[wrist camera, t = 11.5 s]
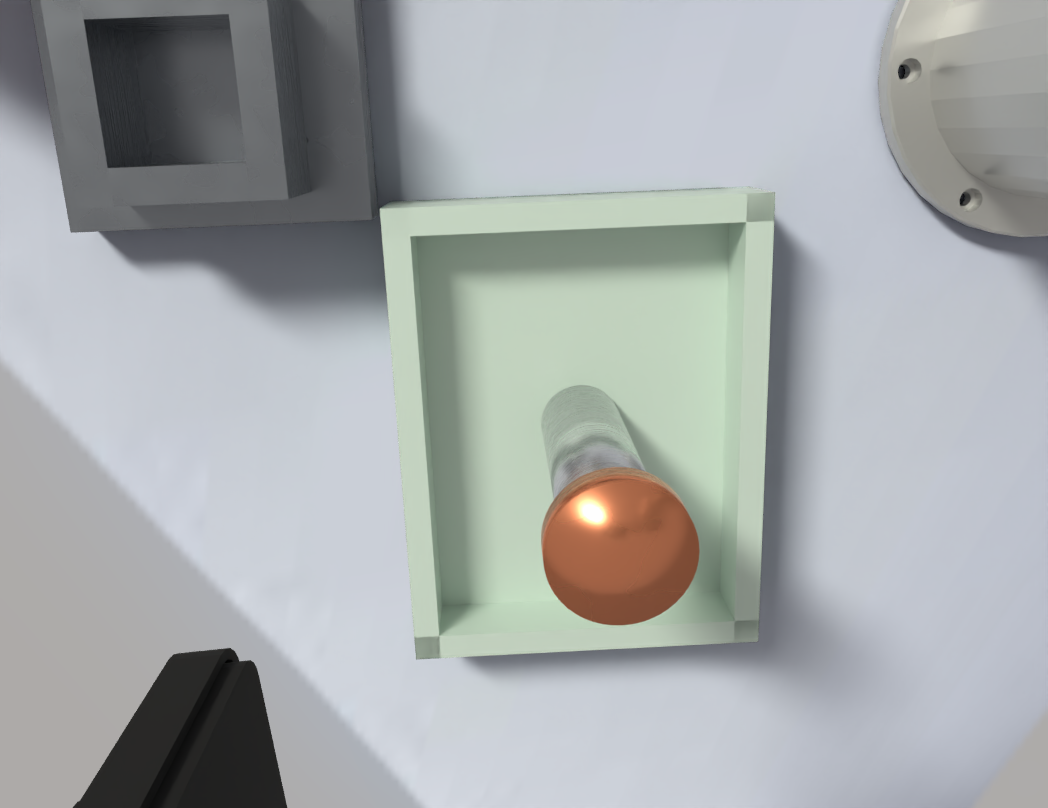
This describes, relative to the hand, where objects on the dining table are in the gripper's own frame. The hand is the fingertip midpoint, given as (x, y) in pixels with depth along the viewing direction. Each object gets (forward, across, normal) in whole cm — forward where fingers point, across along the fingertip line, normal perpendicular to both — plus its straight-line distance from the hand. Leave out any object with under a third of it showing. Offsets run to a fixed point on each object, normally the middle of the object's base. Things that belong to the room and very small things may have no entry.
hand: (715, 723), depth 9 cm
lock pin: (+28, 0, +6) cm, 28 cm away
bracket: (+29, +12, -11) cm, 33 cm away
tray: (+29, 0, +6) cm, 29 cm away
